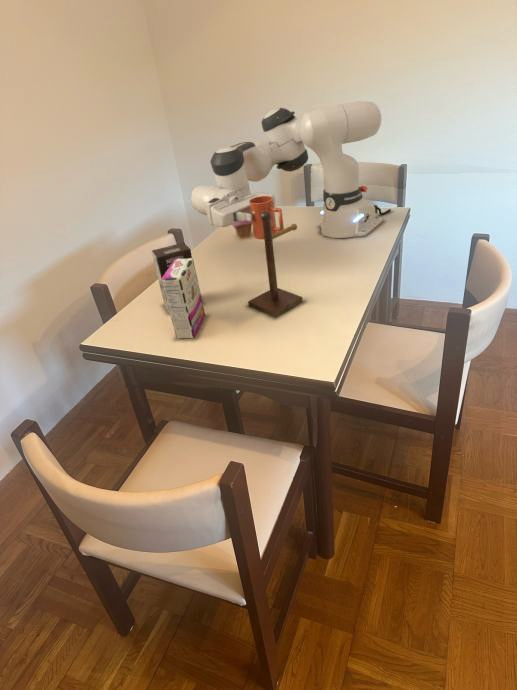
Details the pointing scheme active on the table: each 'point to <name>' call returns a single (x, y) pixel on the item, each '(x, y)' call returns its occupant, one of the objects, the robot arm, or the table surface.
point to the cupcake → (243, 228)
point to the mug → (257, 208)
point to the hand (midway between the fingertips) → (262, 213)
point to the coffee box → (168, 261)
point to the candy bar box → (183, 298)
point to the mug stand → (273, 276)
